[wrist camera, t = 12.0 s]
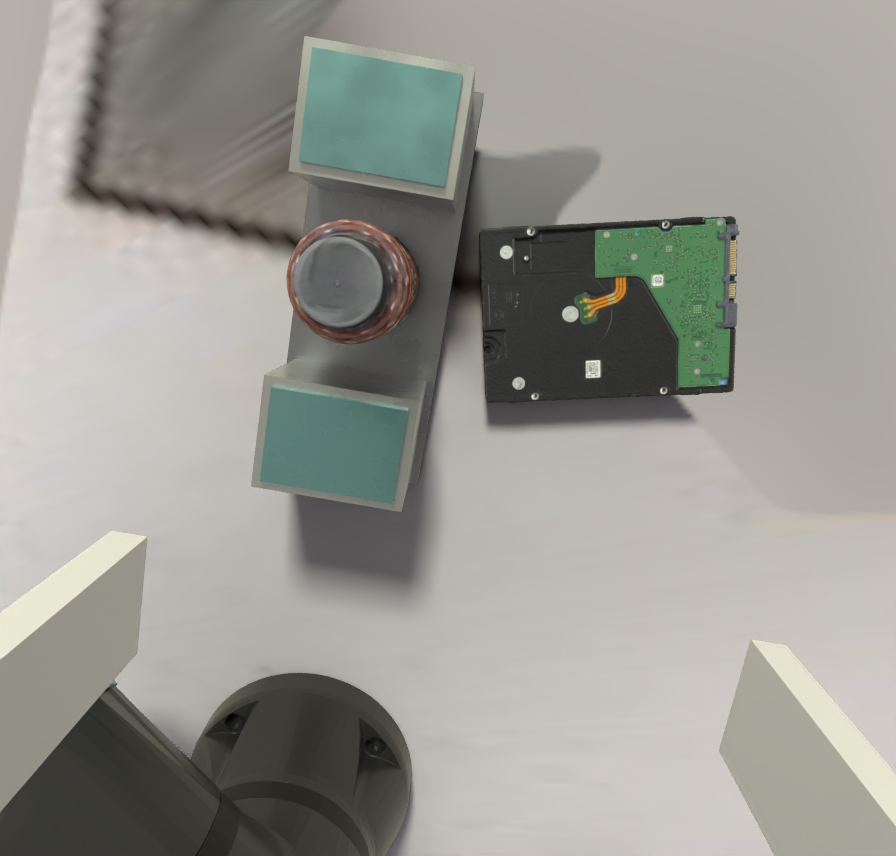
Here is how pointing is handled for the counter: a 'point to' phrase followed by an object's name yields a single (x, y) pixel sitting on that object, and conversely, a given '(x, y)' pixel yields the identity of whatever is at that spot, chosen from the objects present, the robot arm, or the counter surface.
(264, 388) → the rail
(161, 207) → the counter surface
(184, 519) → the counter surface
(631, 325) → the disk drive
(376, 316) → the supplement bottle
